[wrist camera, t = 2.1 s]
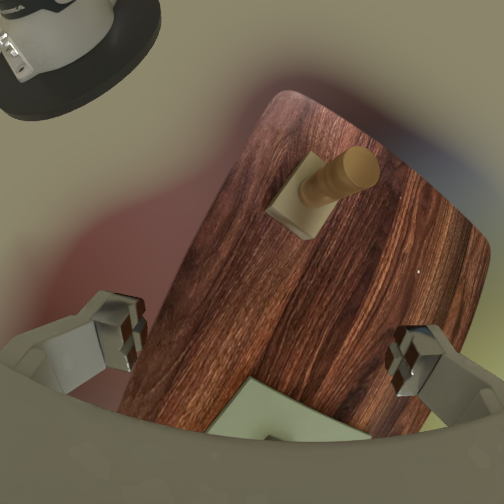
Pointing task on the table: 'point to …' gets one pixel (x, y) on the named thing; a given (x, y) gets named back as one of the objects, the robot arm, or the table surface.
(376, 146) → the table surface
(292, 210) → the stamp
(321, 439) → the mat
